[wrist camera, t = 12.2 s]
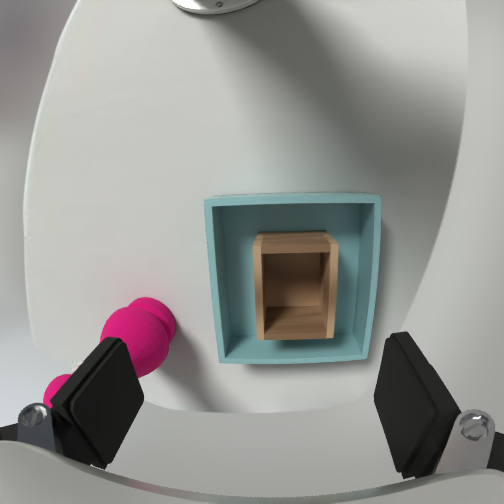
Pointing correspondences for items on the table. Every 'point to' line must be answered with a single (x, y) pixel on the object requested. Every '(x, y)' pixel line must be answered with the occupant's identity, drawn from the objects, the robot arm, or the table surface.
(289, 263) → the small crate
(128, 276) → the table surface
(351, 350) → the big crate
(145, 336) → the pepper mill
